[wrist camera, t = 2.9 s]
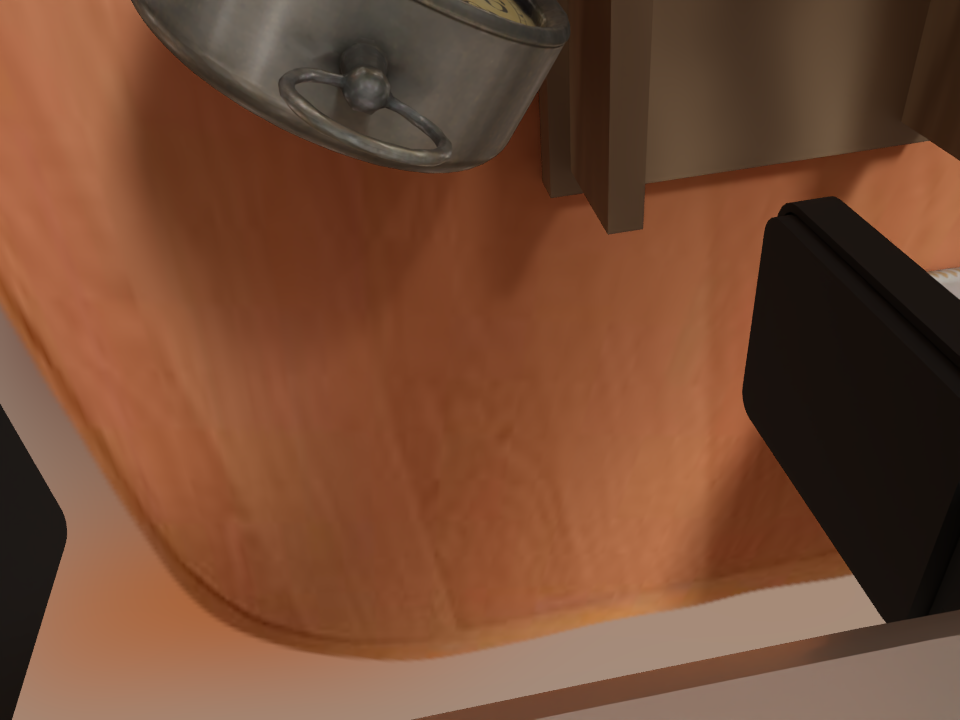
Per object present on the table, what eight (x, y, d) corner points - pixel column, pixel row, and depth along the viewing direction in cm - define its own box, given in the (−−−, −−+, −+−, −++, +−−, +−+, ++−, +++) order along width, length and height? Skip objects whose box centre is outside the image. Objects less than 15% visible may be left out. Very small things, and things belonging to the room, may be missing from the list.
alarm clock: (525, -49, 28) (707, 139, 15) (453, 95, 30) (554, 361, 17) (197, -239, 23) (53, -203, 10) (145, -51, 26) (-21, 162, 13)
